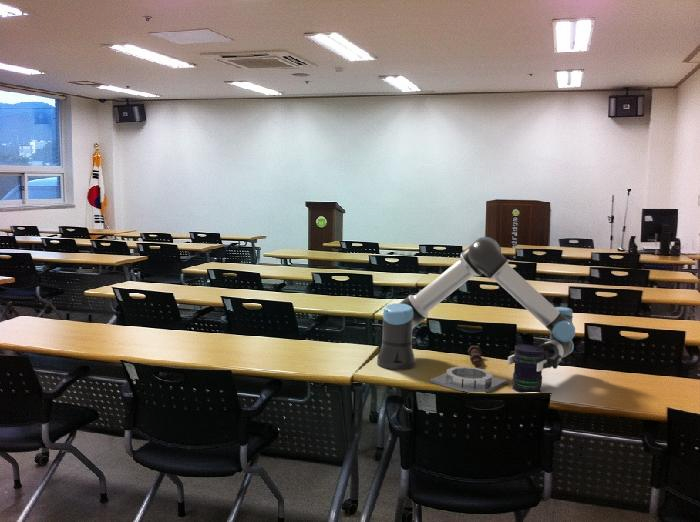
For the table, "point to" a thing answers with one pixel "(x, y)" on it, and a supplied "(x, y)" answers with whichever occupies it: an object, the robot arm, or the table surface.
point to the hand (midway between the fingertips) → (523, 364)
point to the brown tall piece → (475, 355)
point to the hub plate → (468, 389)
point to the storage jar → (527, 368)
